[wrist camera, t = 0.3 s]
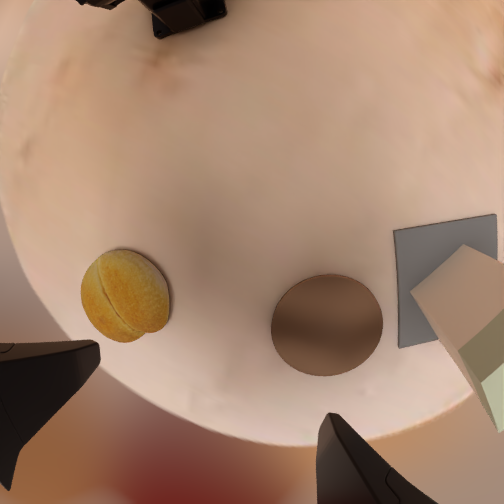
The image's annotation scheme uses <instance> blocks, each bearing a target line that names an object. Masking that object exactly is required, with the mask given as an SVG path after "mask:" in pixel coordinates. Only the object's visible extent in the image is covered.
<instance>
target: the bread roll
mask: <svg viewBox="0 0 504 504" xmlns="http://www.w3.org/2000/svg"><path fill="white" fill-rule="evenodd" d="M81 299H82V305H83V308H84V310H85V312H86V315H87V317H88V318H89V320H90V321H91V323H92V324H93V325H94V327H95V328H96V329H97V330H98V331H100V332H101V333H102V334H103V335H104V336H106V337H107V338H110V339H112V340H114V341H118V342H123V343H126V342H132V341H135V340H137V339H139V338H140V337H141V336H143V335H144V334H145V332H146V333H153V332H157V331H159V330H161V329H162V328H163V327H164V326H165V324H166V323H167V320H168V316H169V294H168V288H167V283H166V281H165V279H164V277H163V275H162V274H161V273H160V271H159V270H158V269H157V268H156V267H155V266H154V265H153V264H152V263H151V262H150V261H148V260H147V259H146V258H144V257H143V256H141V255H139V254H137V253H135V252H132V251H129V250H113V251H109V252H106V253H104V254H102V255H101V256H100V257H99V258H98V259H97V260H96V261H94V262H93V263H92V265H91V266H90V267H89V268H88V270H87V271H86V273H85V275H84V278H83V280H82V285H81Z"/></svg>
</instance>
